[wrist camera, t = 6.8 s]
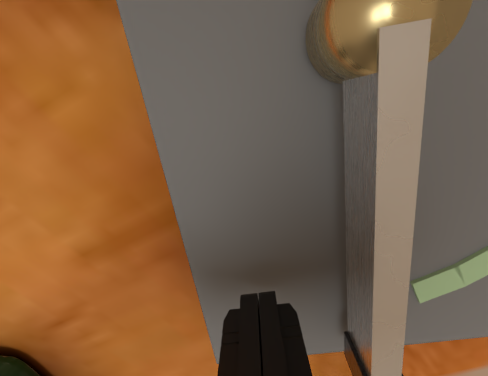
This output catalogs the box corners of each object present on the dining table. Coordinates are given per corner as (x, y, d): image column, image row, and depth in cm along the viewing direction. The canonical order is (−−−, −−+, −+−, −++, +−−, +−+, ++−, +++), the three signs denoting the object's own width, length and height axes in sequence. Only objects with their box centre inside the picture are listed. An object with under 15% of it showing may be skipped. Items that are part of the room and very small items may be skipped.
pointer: (302, -11, 8) (334, -78, 5) (400, -30, 8) (492, -111, 5) (324, 343, 13) (346, 410, 10) (383, 336, 13) (423, 403, 10)
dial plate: (105, -101, 9) (72, -147, 7) (716, -240, 7) (845, -334, 6) (219, 340, 16) (216, 367, 14) (541, 306, 15) (578, 331, 13)
